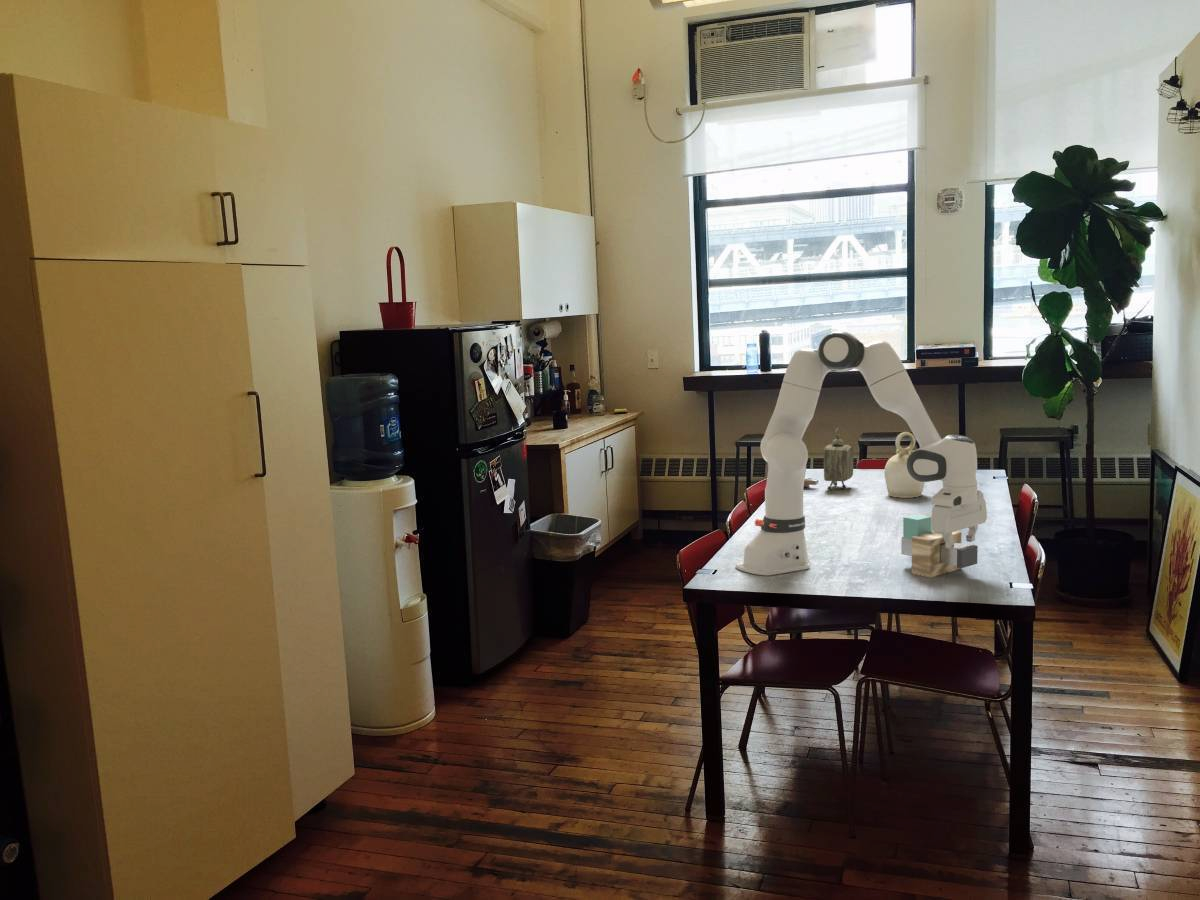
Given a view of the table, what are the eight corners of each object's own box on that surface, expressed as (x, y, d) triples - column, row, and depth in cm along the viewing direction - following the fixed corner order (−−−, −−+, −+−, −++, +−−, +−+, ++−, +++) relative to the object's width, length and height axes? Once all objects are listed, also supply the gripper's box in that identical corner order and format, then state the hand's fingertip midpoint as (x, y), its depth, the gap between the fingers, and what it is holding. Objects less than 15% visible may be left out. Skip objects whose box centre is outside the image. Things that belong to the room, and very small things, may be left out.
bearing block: (929, 577, 272) (930, 540, 270) (911, 573, 277) (911, 536, 275) (961, 568, 280) (961, 532, 278) (942, 564, 284) (943, 528, 283)
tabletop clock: (832, 485, 414) (831, 425, 410) (854, 485, 410) (853, 425, 406) (823, 491, 401) (823, 429, 397) (846, 492, 397) (846, 430, 393)
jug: (929, 499, 377) (929, 433, 374) (887, 499, 380) (887, 434, 376) (922, 491, 392) (923, 428, 389) (882, 492, 395) (882, 429, 391)
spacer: (917, 540, 278) (918, 519, 278) (903, 537, 282) (903, 517, 282) (931, 537, 282) (931, 516, 281) (916, 534, 286) (916, 514, 285)
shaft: (961, 568, 267) (961, 550, 266) (899, 554, 284) (899, 537, 283) (977, 563, 271) (977, 545, 270) (914, 550, 288) (914, 533, 287)
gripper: (972, 487, 278) (972, 535, 280) (927, 499, 266) (927, 549, 268) (992, 490, 273) (992, 539, 275) (947, 502, 261) (947, 553, 263)
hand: (960, 544), depth 271 cm, fingers open, 8 cm apart
